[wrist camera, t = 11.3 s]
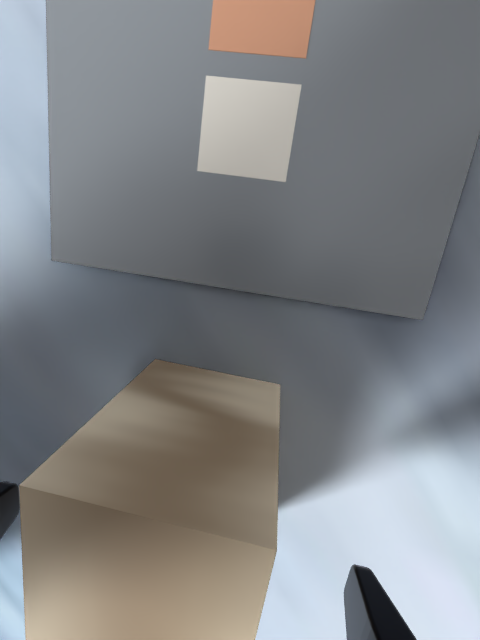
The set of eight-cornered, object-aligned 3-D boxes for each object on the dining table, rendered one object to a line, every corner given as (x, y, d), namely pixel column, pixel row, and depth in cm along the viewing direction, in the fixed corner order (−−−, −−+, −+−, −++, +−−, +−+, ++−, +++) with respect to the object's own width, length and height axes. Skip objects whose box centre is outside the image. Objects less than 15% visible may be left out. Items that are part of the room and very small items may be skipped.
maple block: (143, 493, 13) (28, 702, 7) (155, 358, 11) (19, 485, 5) (251, 520, 12) (223, 765, 7) (280, 383, 11) (276, 549, 5)
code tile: (55, 260, 11) (51, 260, 10) (46, -243, 7) (39, -258, 7) (419, 318, 9) (423, 320, 9) (589, -245, 6) (601, -263, 6)
